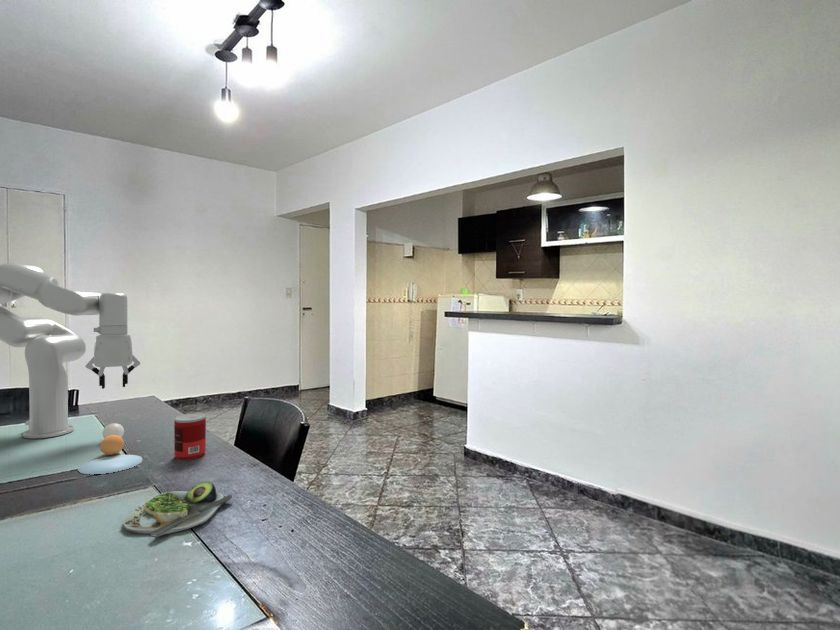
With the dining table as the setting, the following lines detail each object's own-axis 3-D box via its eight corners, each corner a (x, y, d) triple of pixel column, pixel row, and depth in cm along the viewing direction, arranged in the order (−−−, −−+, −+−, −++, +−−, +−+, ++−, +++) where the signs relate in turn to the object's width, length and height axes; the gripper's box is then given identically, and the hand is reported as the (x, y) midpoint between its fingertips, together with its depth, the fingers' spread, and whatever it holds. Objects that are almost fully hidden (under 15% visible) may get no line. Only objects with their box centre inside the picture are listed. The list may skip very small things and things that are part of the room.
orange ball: (95, 456, 123) (95, 437, 123) (113, 450, 128) (113, 431, 128) (110, 458, 121) (110, 439, 121) (128, 452, 127) (128, 433, 126)
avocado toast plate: (198, 545, 80) (198, 520, 80) (97, 545, 80) (97, 520, 80) (238, 498, 100) (238, 477, 100) (157, 498, 99) (157, 477, 99)
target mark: (64, 470, 112) (64, 470, 112) (115, 453, 126) (115, 452, 126) (106, 477, 109) (106, 477, 109) (154, 458, 122) (154, 458, 122)
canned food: (211, 451, 129) (211, 413, 128) (194, 461, 121) (194, 421, 120) (186, 450, 129) (186, 412, 129) (168, 459, 122) (168, 419, 121)
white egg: (97, 442, 134) (97, 425, 134) (114, 437, 140) (114, 420, 140) (111, 444, 133) (111, 426, 133) (128, 439, 138) (128, 422, 138)
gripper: (79, 332, 135) (79, 391, 136) (145, 331, 145) (145, 386, 145) (81, 331, 141) (81, 387, 142) (144, 329, 151) (144, 383, 151)
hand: (113, 386), depth 143 cm, fingers open, 4 cm apart
